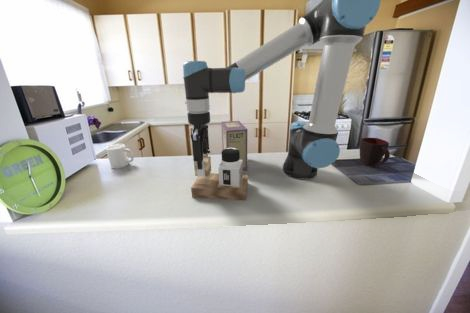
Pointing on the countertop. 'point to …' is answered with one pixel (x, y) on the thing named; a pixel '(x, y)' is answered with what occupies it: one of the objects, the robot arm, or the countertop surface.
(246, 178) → the base board
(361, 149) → the mug
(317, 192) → the countertop surface
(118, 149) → the cup
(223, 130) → the box
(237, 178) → the container
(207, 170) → the oak cube
